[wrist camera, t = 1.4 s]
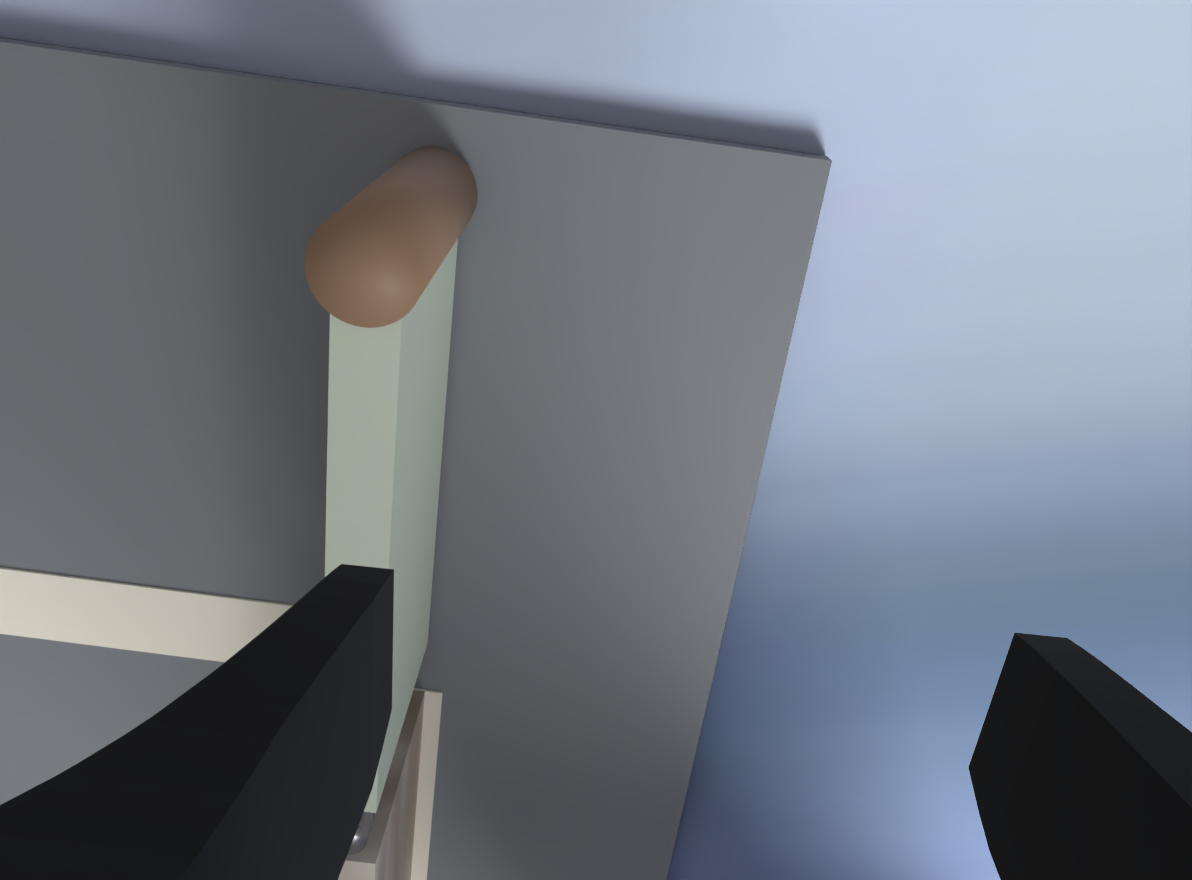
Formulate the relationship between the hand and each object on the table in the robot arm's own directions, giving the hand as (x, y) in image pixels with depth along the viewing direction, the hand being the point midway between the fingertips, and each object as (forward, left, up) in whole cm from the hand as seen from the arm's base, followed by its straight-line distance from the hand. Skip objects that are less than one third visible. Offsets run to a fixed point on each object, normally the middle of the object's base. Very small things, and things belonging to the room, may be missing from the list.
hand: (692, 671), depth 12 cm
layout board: (+7, +6, -10) cm, 14 cm away
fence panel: (+5, +2, -9) cm, 10 cm away
